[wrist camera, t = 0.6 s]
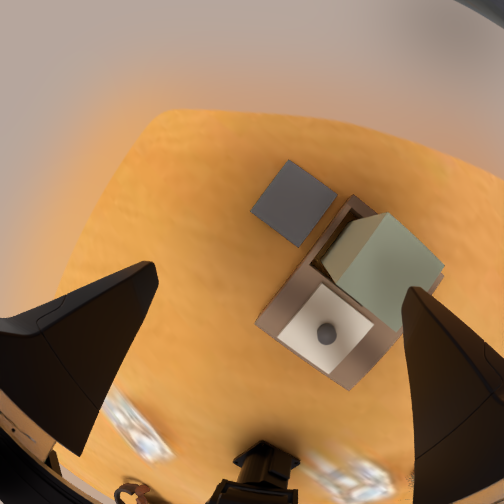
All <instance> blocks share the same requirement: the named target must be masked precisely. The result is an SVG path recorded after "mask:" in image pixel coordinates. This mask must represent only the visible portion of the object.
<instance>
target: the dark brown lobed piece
mask: <svg viewBox="0 0 504 504" xmlns="http://www.w3.org/2000/svg"><path fill="white" fill-rule="evenodd" d="M149 491H150V488H149V487H148V486H147V485H140V486H139V485H138V484H129V483H127V484H123V485H121V486H120V487H119V489H117V490H116V491H115V493H114V497H115V502H116V503H117V504H125V503H124V502H123V501H122V500H121V499H120V493H121V492H126V493H128V494H130V495H133V494H134V493H135V494H136V495H137V496H138V498H137V499H136V501H137V504H148V503H147V500H146V498H145V496H144V495H143V494H145V493H146V492H149Z"/></svg>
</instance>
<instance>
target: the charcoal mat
mask: <svg viewBox="0 0 504 504" xmlns="http://www.w3.org/2000/svg"><path fill="white" fill-rule="evenodd" d="M336 196H337V194H336V193H335V192H333V191H332V190H331V189H329V188H328V187H327V186H325V185H324V184H323V183H321V182H320V181H318V180H317V179H316V178H314V177H313V176H312V175H310V174H309V173H307V172H306V171H304V170H303V169H302V168H300V167H299V166H297V165H296V164H294V163H293V162H291V161H290V160H288V161H287V162H286V163H285V165H284V166H283V167H282V169H281V170H280V171H279V173H278V174H277V175H276V177H275V178H274V179H273V181H272V182H271V183H270V185H269V186H268V187H267V189H266V190H265V192H264V193H263V194H262V196H261V197H260V198H259V200H258V201H257V202H256V204H255V205H254V206H253V208H252V209H251V211H250V212H251V213H253V214H254V215H255V216H257V217H258V218H259V219H261V220H262V221H264V222H265V223H266V224H268V225H269V226H270V227H272V228H273V229H274V230H276V231H277V232H278V233H280V234H281V235H282V236H284V237H285V238H286V239H287V240H289V241H290V242H291V243H293V244H294V245H295V246H297V247H298V248H299V246H300V245H301V244H302V243H303V241H304V240H305V239H306V237H307V236H308V235H309V233H310V232H311V230H312V229H313V228H314V226H315V225H316V224H317V222H318V221H319V220H320V218H321V217H322V216H323V214H324V213H325V212H326V210H327V209H328V207H329V206H330V205H331V203H332V202H333V201H334V199H335V198H336Z"/></svg>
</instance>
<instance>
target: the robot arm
mask: <svg viewBox="0 0 504 504" xmlns="http://www.w3.org/2000/svg"><path fill="white" fill-rule="evenodd" d="M158 284H159V280H158V276H157V272H156V267H155V264H154V263H153V262H150V261H142V262H139V263H137V264H134V265H132V266H130V267H127V268H125V269H123V270H120V271H118V272H116V273H113V274H111V275H109V276H106V277H104V278H102V279H99V280H97V281H95V282H93V283H90V284H88V285H86V286H84V287H81V288H79V289H77V290H75V291H72V292H70V293H68V294H67V295H63V296H61V297H59V298H57V299H55V300H52V301H50V302H48V303H45V304H43V305H41V306H38V307H36V308H33V309H31V310H28V311H26V312H23V313H21V314H18V315H16V316H13V317H10V318H0V500H1V501H2V502H3V503H4V504H102V503H101V502H99V501H97V500H96V499H94V498H92V497H91V496H89V495H87V494H86V493H84V492H83V491H81V490H80V489H78V488H76V487H75V486H74V485H72V484H71V483H69V482H68V481H67V480H65V479H64V478H62V474H61V470H60V466H59V462H58V458H57V454H56V452H55V451H54V450H53V447H54V445H55V444H56V442H58V443H59V444H61V445H62V446H64V447H65V448H66V449H68V450H69V451H71V452H72V453H74V454H75V455H77V456H78V457H80V456H81V454H82V452H83V449H84V447H85V444H86V442H87V439H88V437H89V435H90V432H91V430H92V427H93V425H94V423H95V420H96V418H97V416H98V413H99V410H100V409H101V406H102V404H103V402H104V400H105V398H106V395H107V393H108V391H109V389H110V387H111V385H112V382H113V380H114V378H115V376H116V374H117V372H118V370H119V368H120V366H121V364H122V362H123V360H124V358H125V356H126V354H127V352H128V350H129V348H130V346H131V344H132V342H133V340H134V338H135V336H136V334H137V332H138V330H139V329H140V327H141V325H142V323H143V321H144V319H145V317H146V314H147V312H148V309H149V307H150V305H151V302H152V300H153V297H154V295H155V293H156V290H157V288H158ZM401 315H402V326H403V338H404V349H405V356H406V362H407V369H408V375H409V383H410V391H411V400H412V411H413V425H414V448H415V463H414V493H413V504H504V358H503V357H502V356H500V355H499V354H498V353H497V352H496V351H495V350H494V349H493V348H492V347H491V346H490V345H488V344H487V343H486V342H484V340H483V339H482V338H481V337H480V336H479V335H477V334H476V333H475V332H474V331H473V330H472V329H471V328H470V327H468V326H467V325H466V324H465V323H464V322H463V321H461V320H460V319H459V318H458V317H457V316H456V315H454V314H453V313H452V312H451V311H450V310H448V309H447V308H446V307H445V306H444V305H442V304H441V303H440V302H439V301H437V300H436V299H435V298H434V297H433V296H431V295H430V294H429V293H428V292H426V291H425V290H424V289H422V288H421V287H418V286H410V287H409V288H408V290H407V293H406V295H405V298H404V301H403V303H402V307H401ZM262 444H264V445H262ZM233 463H234V464H235V465H237V466H239V467H241V471H240V474H239V477H238V480H237V482H232V481H228V480H226V479H223V480H222V482H221V483H219V485H217V487H216V490H215V492H214V493H213V495H212V496H211V498H210V499H209V500H208V501H207V502H206V503H205V504H298V489H293V490H290V489H287V486H288V479H290V472H291V470H292V469H293V468H295V467H296V466H298V465H299V464H300V460H299V459H297V458H295V457H293V456H291V455H289V454H287V453H285V452H283V451H282V450H280V449H278V448H276V447H274V446H272V445H271V444H269V443H267V442H265V441H259V442H258V443H257V444H255V445H254V446H252V447H251V448H250V449H248V450H247V451H245V452H244V453H243V454H241V455H240V456H238V457H237V458H235V459H234V460H233Z"/></svg>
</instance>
